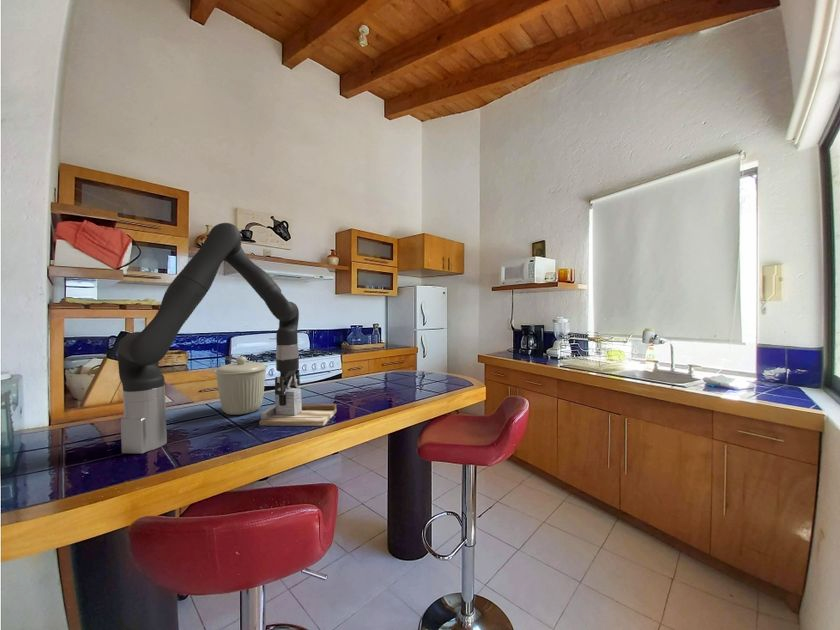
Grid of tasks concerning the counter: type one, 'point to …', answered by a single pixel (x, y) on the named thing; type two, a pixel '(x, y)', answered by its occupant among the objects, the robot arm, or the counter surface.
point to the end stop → (268, 412)
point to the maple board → (300, 418)
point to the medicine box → (290, 403)
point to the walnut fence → (318, 406)
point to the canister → (241, 386)
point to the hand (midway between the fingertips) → (288, 401)
